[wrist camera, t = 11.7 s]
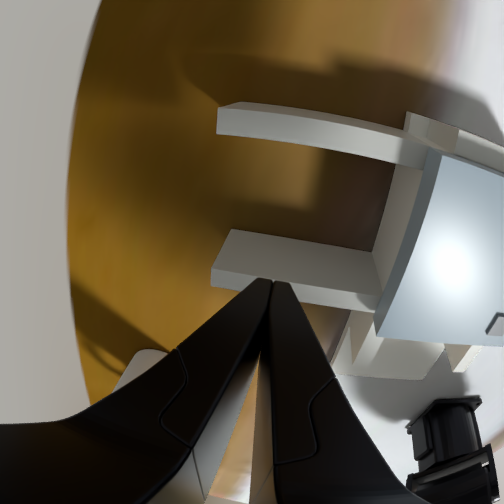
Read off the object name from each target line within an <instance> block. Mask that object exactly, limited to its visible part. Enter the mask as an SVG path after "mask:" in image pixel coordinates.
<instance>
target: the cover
mask: <svg viewBox="0 0 504 504" xmlns="http://www.w3.org/2000/svg"><path fill="white" fill-rule="evenodd" d="M373 321H374V327H375V333H376V337H384V338H393V339H402V340H412V341H423V342H434V343H447V344H461V345H478V346H500V347H503V346H504V173H501V172H499V171H496V170H494V169H491V168H489V167H486V166H484V165H481V164H478V163H476V162H473V161H470V160H468V159H465V158H462V157H459V156H456V155H453V154H450V153H447V152H444V151H441V150H438V149H435V148H432V147H429V149H428V154H427V158H426V162H425V166H424V170H423V174H422V178H421V181H420V185H419V189H418V192H417V196H416V199H415V203H414V206H413V209H412V213H411V216H410V219H409V222H408V225H407V228H406V231H405V234H404V237H403V240H402V243H401V246H400V249H399V252H398V255H397V257H396V260H395V263H394V266H393V268H392V271H391V274H390V276H389V279H388V281H387V284H386V286H385V289H384V291H383V294H382V296H381V299H380V301H379V303H378V306H377V308H376V311H375V313H374V315H373Z"/></svg>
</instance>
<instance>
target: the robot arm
mask: <svg viewBox="0 0 504 504" xmlns="http://www.w3.org/2000/svg"><path fill="white" fill-rule="evenodd" d="M260 351H261V352H260ZM259 356H260V358H259ZM258 360H259V367H258V382H257V398H256V414H255V429H254V443H253V458H252V472H251V485H250V499H249V504H492V503H495V502H497V501H499V500H500V499H499V498H500V497H499V488H498V481H497V475H496V469H495V463H494V458H493V453H492V448H491V444H487V445H485V447H483V448H482V443H481V438H480V433H479V429H478V425H477V421H476V417H475V413H474V411H475V410H476V409H477V408H478V407H479V406H480V405H481V403H482V400H481V398H476V399H455V400H436V401H434V402H433V403H432V404H431V405H430V406H429V407H428V409H427V410H426V411H425V412H424V413H423V414H422V415H421V416H420V417H419V418H418V419H417V420H416V421H415V422H414V423H413V424H412V425H411V426H410V427H409V428H408V429H407V434H412V440H413V450H414V459H415V460H416V461H418V466H419V472H418V473H415V474H413V473H412V474H409V475H408V478H407V480H406V487H405V486H404V485H403V484H402V483H401V482H400V481H399V479H398V478H397V477H396V476H395V474H394V473H393V471H392V470H391V469H390V467H389V465H388V464H387V462H386V461H385V459H384V458H383V456H382V455H381V453H380V452H379V450H378V449H377V447H376V446H375V444H374V442H373V441H372V439H371V438H370V436H369V435H368V433H367V432H366V430H365V429H364V427H363V425H362V424H361V422H360V421H359V419H358V417H357V416H356V414H355V412H354V411H353V409H352V407H351V405H350V403H349V401H348V400H347V398H346V396H345V394H344V392H343V390H342V388H341V386H340V383H339V381H338V379H337V378H335V377H336V376H335V373H334V371H333V369H332V367H331V365H330V363H329V361H328V359H327V357H326V355H325V353H324V351H323V349H322V347H321V345H320V343H319V341H318V339H317V337H316V334H315V332H314V330H313V328H312V326H311V324H310V322H309V320H308V318H307V316H306V314H305V312H304V310H303V308H302V306H301V304H300V302H299V300H298V298H297V296H296V294H295V292H294V290H293V288H292V286H291V284H290V283H289V282H284V281H278V280H275V281H274V282H273V281H272V280H271V279H266V278H260V277H258V278H256V279H255V280H254V281H252V282H251V283H250V284H249V285H248V286H247V287H246V288H244V289H243V290H242V291H241V292H240V293H239V294H238V295H236V296H235V297H234V298H233V299H232V300H231V301H229V302H228V303H227V304H226V305H225V306H224V307H223V308H221V309H220V310H219V311H218V312H217V313H216V314H214V315H213V316H212V317H211V318H210V319H209V320H207V321H206V322H205V323H204V324H203V325H202V326H200V327H199V328H198V329H197V330H196V331H194V332H193V333H192V334H191V335H190V336H189V337H187V338H186V339H185V340H184V341H183V342H181V343H180V344H179V345H178V346H177V347H176V349H173V350H172V351H171V352H169V353H168V354H167V355H166V356H165V357H163V358H162V359H161V360H160V361H158V362H157V363H156V364H154V365H153V366H152V367H151V368H149V369H148V370H147V371H145V372H144V373H142V374H141V375H139V376H138V377H136V378H135V379H133V380H132V381H130V382H129V383H127V384H126V385H124V386H123V387H121V388H119V389H118V390H116V391H115V392H113V393H111V394H110V395H108V396H106V397H105V398H103V399H102V400H100V401H98V402H97V403H95V404H93V405H92V406H90V407H88V408H87V409H85V410H83V411H82V412H80V413H78V414H75V415H73V416H71V417H68V418H65V419H62V420H58V421H52V422H41V423H40V422H39V423H19V424H0V504H204V501H205V500H206V498H207V495H208V493H209V490H210V488H211V485H212V483H213V481H214V478H215V476H216V473H217V471H218V468H219V466H220V463H221V461H222V458H223V455H224V453H225V450H226V448H227V445H228V443H229V440H230V437H231V435H232V432H233V430H234V427H235V424H236V422H237V419H238V416H239V414H240V411H241V408H242V405H243V403H244V400H245V397H246V395H247V392H248V389H249V386H250V383H251V381H252V378H253V375H254V372H255V369H256V366H257V363H258ZM488 461H489V464H488V465H485V466H483V467H482V464H484V463H486V462H488Z"/></svg>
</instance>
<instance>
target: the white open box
mask: <svg viewBox="0 0 504 504" xmlns="http://www.w3.org/2000/svg"><path fill="white" fill-rule="evenodd" d="M216 134H223V135H233V136H243V137H252V138H260V139H268V140H275V141H283V142H289V143H296V144H302V145H309V146H314V147H320V148H326V149H331V150H337V151H342V152H347V153H352V154H356V155H361V156H366V157H370V158H375V159H379V160H383V161H388V162H392V163H396V166H395V170H394V174H393V178H392V182H391V186H390V190H389V194H388V198H387V202H386V205H385V209H384V213H383V216H382V220H381V223H380V227H379V230H378V233H377V237H376V240H375V243H374V246H373V250H372V252H366V251H361V250H355V249H349V248H344V247H338V246H332V245H327V244H321V243H315V242H309V241H303V240H297V239H291V238H285V237H279V236H273V235H267V234H261V233H255V232H249V231H242V230H236V229H231V230H230V232H229V234H228V236H227V238H226V240H225V242H224V244H223V246H222V248H221V250H220V252H219V254H218V256H217V258H216V260H215V262H214V264H213V266H212V268H211V286H215V287H220V288H225V289H231V290H236V291H242V290H243V289H244V288H246V287H247V286H248V285H249V284H250V283H251V282H252V281H254V280H255V279H256V278H258V277H260V278H266V279H271V280H272V281H273V282H274V281H275V280H278V281H284V282H289V283H290V284H291V286H292V288H293V290H294V292H295V294H296V296H297V298H298V300H299V302H305V303H311V304H318V305H324V306H331V307H337V308H344V309H350V310H351V313H350V316H349V318H348V321H347V323H346V326H345V328H344V331H343V333H342V336H341V338H340V341H339V343H338V346H337V348H336V350H335V353H334V355H333V358H332V360H331V362H330V365H331V367H332V369H333V371H334V373H335V374H342V375H352V376H362V377H373V378H386V379H402V380H423V379H424V377H425V376H426V375H427V373H428V372H429V370H430V369H431V368H432V366H433V365H434V363H435V362H436V361H437V359H438V358H439V356H440V355H441V353H442V352H443V350H444V349H445V350H446V353H447V356H448V359H449V362H450V366H451V369H452V372H464V371H465V370H466V369H467V368H468V366H469V365H470V364H471V362H472V361H473V360H474V358H475V357H476V356H477V354H478V353H479V351H480V350H481V349H482V347H483V346H478V345H461V344H447V343H434V342H423V341H412V340H402V339H393V338H384V337H376V333H375V327H374V321H373V315H374V313H375V311H376V308H377V306H378V303H379V301H380V299H381V296H382V294H383V291H384V289H385V286H386V284H387V281H388V279H389V276H390V274H391V271H392V268H393V266H394V263H395V260H396V257H397V255H398V252H399V249H400V246H401V243H402V240H403V237H404V234H405V231H406V228H407V225H408V222H409V219H410V216H411V213H412V209H413V206H414V203H415V199H416V196H417V192H418V189H419V185H420V181H421V178H422V174H423V170H424V166H425V162H426V158H427V154H428V149H429V147H432V148H435V149H438V150H441V151H444V152H447V153H450V154H453V155H456V156H459V157H462V158H465V159H468V160H470V161H473V162H476V163H478V164H481V165H484V166H486V167H489V168H491V169H494V170H496V171H499V172H501V173H504V147H502V146H500V145H498V144H496V143H494V142H491V141H489V140H487V139H484V138H482V137H479V136H477V135H475V134H472V133H470V132H467V131H464V130H462V129H459V128H456V127H454V126H451V125H448V124H445V123H442V122H440V121H437V120H434V119H431V118H427V117H424V116H421V115H418V114H415V113H411V112H408V111H407V112H406V118H405V123H404V128H403V130H401V129H397V128H393V127H389V126H385V125H381V124H377V123H373V122H369V121H364V120H360V119H355V118H351V117H346V116H341V115H335V114H330V113H325V112H319V111H313V110H307V109H300V108H293V107H286V106H278V105H270V104H261V103H251V102H237V103H234V104H230V105H227V106H223V107H220V108H218V116H217V131H216Z"/></svg>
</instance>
